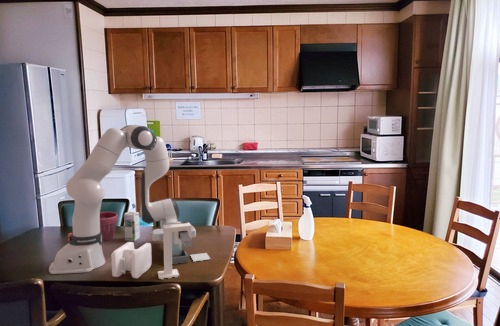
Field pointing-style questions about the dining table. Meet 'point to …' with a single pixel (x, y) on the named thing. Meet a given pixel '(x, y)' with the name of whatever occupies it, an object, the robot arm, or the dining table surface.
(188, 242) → the bolt
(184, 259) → the socket collar
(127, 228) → the syrup box
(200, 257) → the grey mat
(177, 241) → the stand
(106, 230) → the plant pot
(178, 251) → the pale blue bottle
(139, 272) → the cable organizer
